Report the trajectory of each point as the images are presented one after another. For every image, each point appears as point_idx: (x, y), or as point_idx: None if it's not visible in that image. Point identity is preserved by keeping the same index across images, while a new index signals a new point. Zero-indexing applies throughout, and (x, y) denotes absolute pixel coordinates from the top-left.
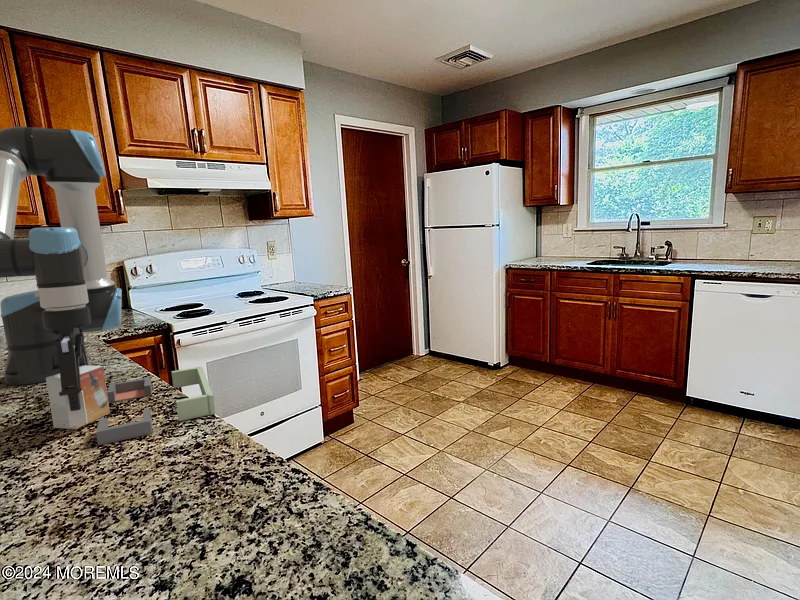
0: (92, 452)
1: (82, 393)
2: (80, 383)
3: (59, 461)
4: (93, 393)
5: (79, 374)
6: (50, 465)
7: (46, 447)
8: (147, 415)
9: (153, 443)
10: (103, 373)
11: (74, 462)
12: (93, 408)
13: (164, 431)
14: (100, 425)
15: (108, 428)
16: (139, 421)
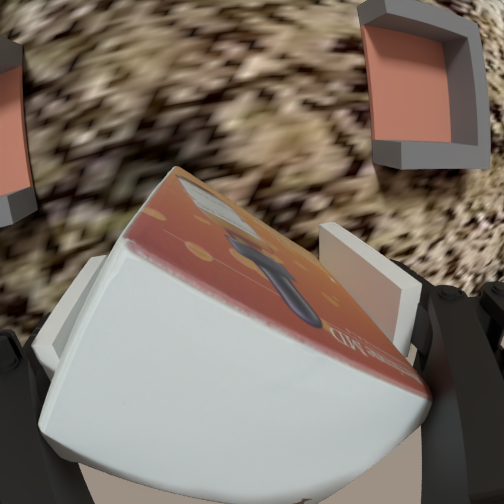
0: (482, 171)
1: (414, 279)
2: (438, 319)
3: (482, 236)
4: (265, 242)
5: (467, 364)
6: (486, 248)
7: None
8: (439, 14)
9: (491, 44)
10: (157, 216)
11: (499, 203)
12: (255, 223)
13: (445, 2)
14: (455, 160)
15: (483, 135)
16: (472, 47)
